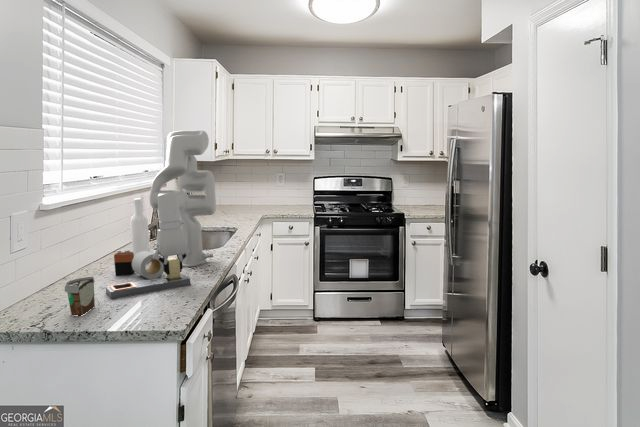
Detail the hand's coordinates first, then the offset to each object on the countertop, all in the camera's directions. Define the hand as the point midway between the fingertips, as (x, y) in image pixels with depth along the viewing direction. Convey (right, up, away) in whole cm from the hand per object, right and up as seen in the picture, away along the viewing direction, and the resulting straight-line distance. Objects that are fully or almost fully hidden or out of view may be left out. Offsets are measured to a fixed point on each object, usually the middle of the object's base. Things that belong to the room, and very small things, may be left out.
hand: (173, 272), depth 176 cm
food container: (-20, -9, -30) cm, 37 cm away
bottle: (-29, -1, +44) cm, 53 cm away
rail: (-7, -6, -5) cm, 10 cm away
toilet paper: (-14, -4, +14) cm, 20 cm away
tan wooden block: (0, -3, 0) cm, 3 cm away
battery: (-26, -4, +19) cm, 33 cm away
